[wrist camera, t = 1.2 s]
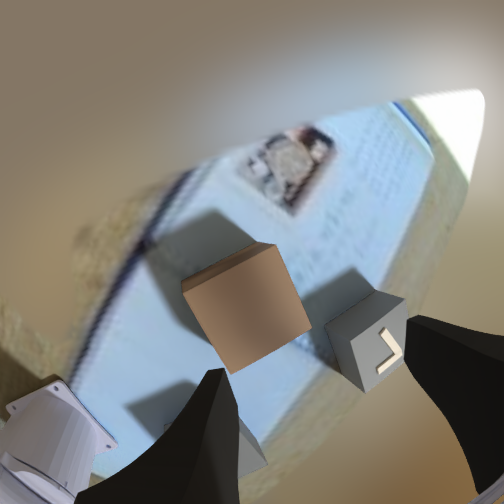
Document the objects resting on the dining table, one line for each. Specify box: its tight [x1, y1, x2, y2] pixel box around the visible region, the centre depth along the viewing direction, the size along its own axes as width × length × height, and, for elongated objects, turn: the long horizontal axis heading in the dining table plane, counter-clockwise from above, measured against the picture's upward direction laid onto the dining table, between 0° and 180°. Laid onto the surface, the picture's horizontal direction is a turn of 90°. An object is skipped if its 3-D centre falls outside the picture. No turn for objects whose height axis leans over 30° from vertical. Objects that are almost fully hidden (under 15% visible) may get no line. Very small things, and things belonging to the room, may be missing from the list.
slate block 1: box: [164, 417, 268, 478], centre depth 18 cm, size 6×6×4 cm
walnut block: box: [181, 242, 312, 374], centre depth 18 cm, size 6×6×4 cm
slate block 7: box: [324, 290, 409, 393], centre depth 21 cm, size 6×6×4 cm
